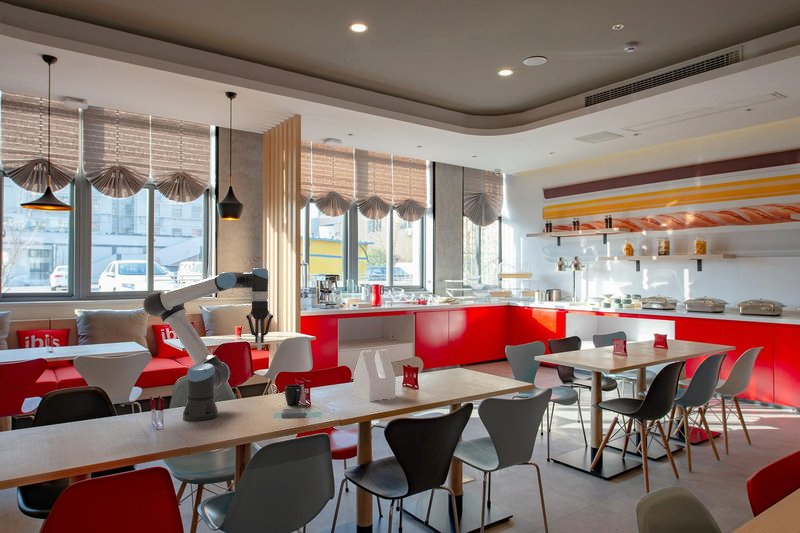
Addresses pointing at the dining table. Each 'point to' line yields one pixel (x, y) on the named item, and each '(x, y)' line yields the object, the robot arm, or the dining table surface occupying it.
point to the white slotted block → (374, 376)
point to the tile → (293, 412)
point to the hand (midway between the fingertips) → (259, 349)
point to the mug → (293, 394)
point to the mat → (307, 414)
